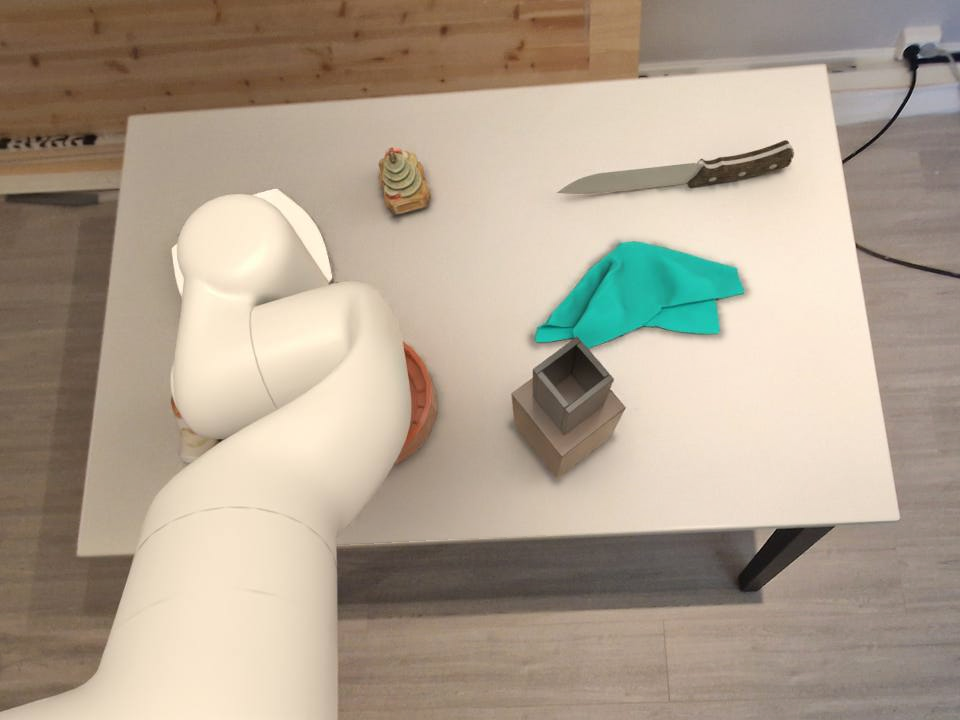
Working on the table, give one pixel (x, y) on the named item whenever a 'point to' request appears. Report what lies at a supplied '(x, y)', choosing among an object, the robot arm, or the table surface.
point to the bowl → (418, 404)
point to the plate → (299, 223)
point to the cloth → (642, 295)
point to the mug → (190, 439)
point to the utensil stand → (567, 407)
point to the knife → (688, 172)
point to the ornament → (403, 181)
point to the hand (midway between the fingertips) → (347, 376)
